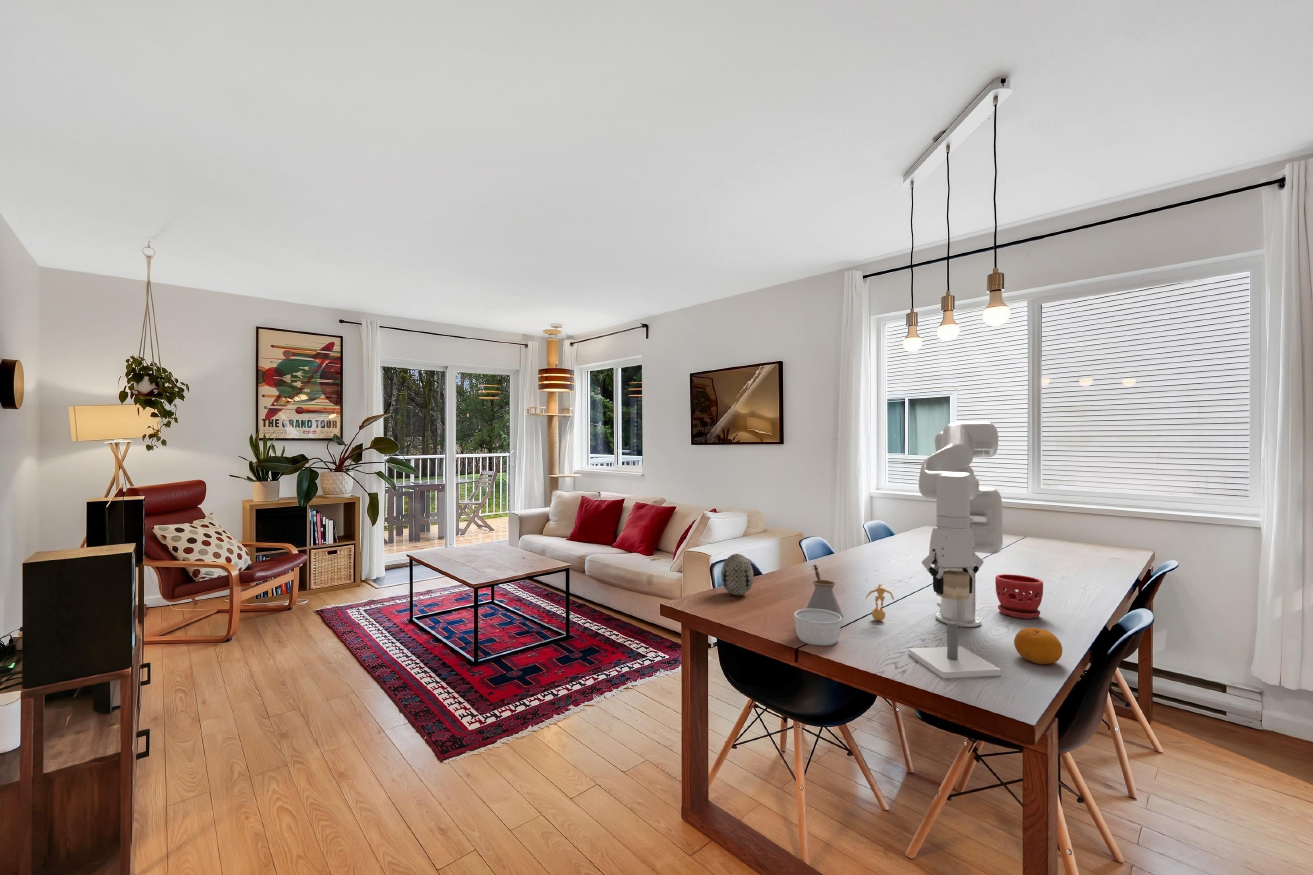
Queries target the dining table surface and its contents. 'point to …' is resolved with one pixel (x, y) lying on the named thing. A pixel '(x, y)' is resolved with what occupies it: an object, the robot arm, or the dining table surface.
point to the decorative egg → (737, 574)
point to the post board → (953, 659)
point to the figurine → (878, 612)
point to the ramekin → (818, 626)
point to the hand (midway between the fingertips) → (952, 591)
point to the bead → (955, 585)
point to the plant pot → (1019, 595)
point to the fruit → (1038, 645)
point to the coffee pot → (823, 595)
